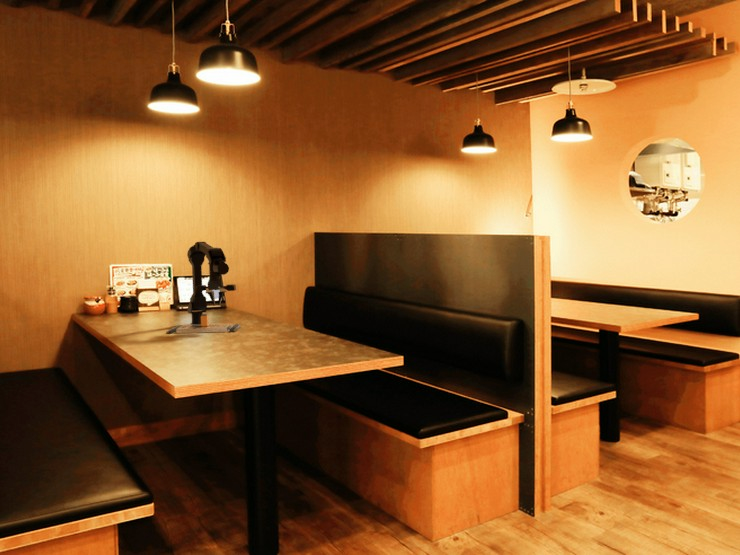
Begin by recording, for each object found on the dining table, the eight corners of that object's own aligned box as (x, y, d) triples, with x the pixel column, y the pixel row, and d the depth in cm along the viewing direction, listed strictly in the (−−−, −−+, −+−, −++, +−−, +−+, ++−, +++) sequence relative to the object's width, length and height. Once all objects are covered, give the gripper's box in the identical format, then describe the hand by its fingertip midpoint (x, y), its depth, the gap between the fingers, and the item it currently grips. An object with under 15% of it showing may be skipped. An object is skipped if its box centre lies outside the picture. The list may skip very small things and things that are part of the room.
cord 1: (175, 328, 316) (175, 325, 316) (181, 328, 316) (181, 325, 316) (165, 333, 299) (165, 330, 299) (172, 333, 299) (172, 330, 299)
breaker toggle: (202, 324, 310) (202, 313, 310) (209, 324, 310) (208, 313, 310) (201, 326, 306) (200, 314, 306) (207, 326, 306) (206, 314, 306)
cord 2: (235, 326, 318) (235, 323, 317) (241, 326, 318) (241, 323, 318) (229, 332, 300) (228, 328, 300) (235, 332, 300) (235, 328, 300)
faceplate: (184, 328, 315) (184, 324, 315) (232, 327, 316) (232, 322, 316) (176, 333, 300) (176, 328, 300) (227, 331, 301) (226, 327, 301)
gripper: (192, 275, 298) (193, 308, 299) (231, 274, 299) (233, 307, 300) (197, 273, 309) (198, 305, 310) (235, 273, 310) (236, 304, 311)
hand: (216, 305), depth 308 cm, fingers closed
